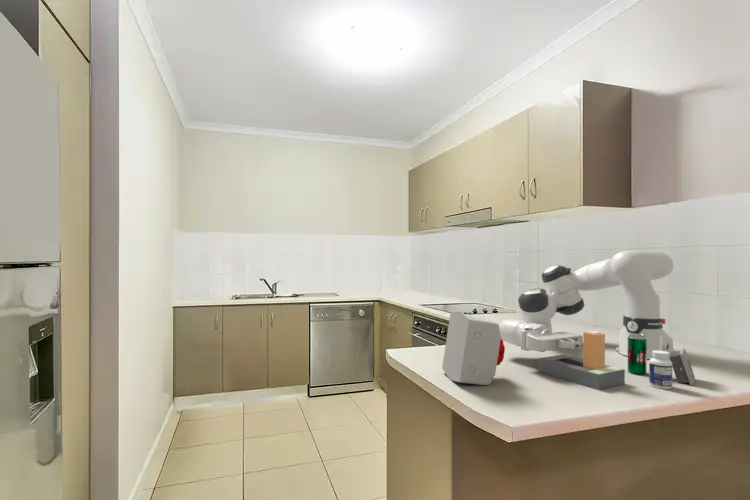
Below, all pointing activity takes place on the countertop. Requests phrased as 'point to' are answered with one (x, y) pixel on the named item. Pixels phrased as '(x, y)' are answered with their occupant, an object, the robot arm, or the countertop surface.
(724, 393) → the countertop surface
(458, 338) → the electrical switch box
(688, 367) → the electrical switch
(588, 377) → the toggle switch
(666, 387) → the pill bottle
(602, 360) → the switch tab
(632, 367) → the soda can
